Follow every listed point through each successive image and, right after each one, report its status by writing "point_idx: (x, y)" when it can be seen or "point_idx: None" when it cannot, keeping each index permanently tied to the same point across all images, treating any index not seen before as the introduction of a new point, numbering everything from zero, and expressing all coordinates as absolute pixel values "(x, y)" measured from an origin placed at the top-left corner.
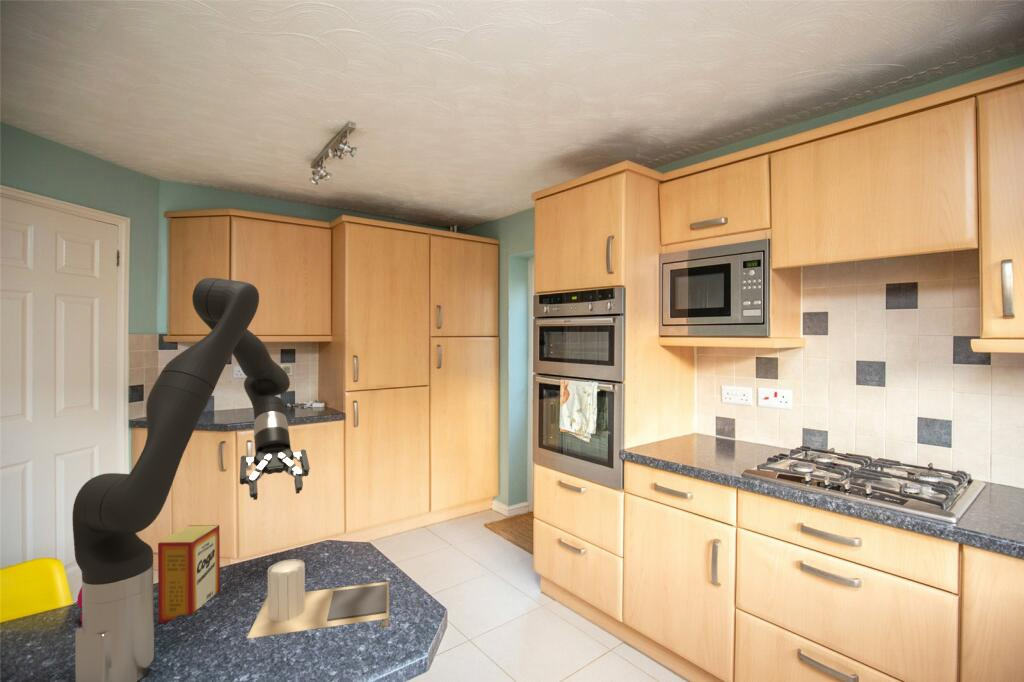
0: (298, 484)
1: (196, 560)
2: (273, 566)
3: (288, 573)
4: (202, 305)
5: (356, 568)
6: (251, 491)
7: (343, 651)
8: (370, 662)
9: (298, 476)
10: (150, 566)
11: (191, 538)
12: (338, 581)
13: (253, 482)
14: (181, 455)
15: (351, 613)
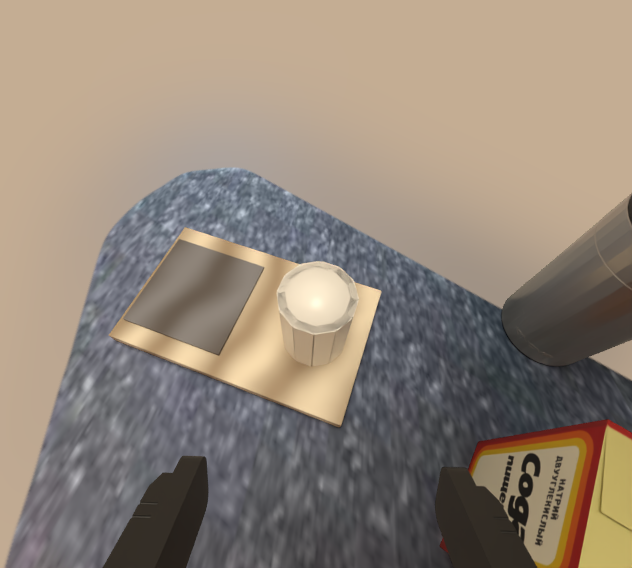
0: (178, 480)
1: (551, 449)
2: (344, 314)
3: (319, 261)
4: None
5: (106, 495)
6: (493, 504)
7: (264, 218)
8: (245, 186)
9: (136, 549)
10: (629, 208)
11: (627, 469)
12: (178, 442)
13: (516, 565)
14: None
15: (225, 261)
